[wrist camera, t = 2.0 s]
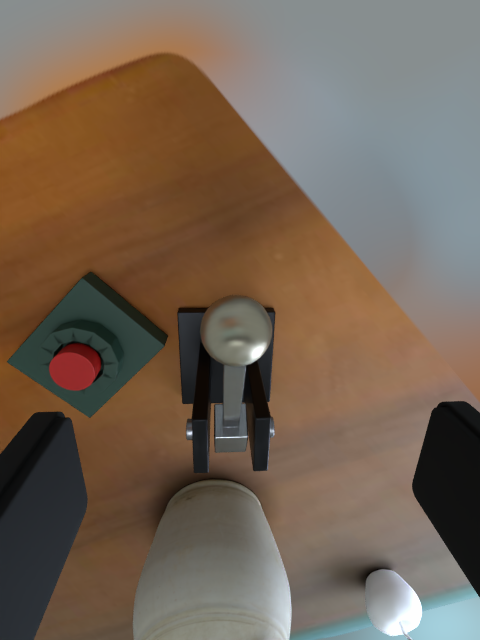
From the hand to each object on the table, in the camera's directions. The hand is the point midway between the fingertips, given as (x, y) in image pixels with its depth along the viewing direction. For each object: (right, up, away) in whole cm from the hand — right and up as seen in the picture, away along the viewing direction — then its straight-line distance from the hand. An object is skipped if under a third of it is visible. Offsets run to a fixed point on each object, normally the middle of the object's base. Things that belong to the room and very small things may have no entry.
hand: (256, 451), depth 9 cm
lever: (-1, +1, +11) cm, 11 cm away
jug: (-4, -21, +33) cm, 39 cm away
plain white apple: (+20, -34, +40) cm, 56 cm away
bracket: (-2, 0, +25) cm, 25 cm away
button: (-14, 0, +20) cm, 25 cm away
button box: (-14, +1, +23) cm, 28 cm away
